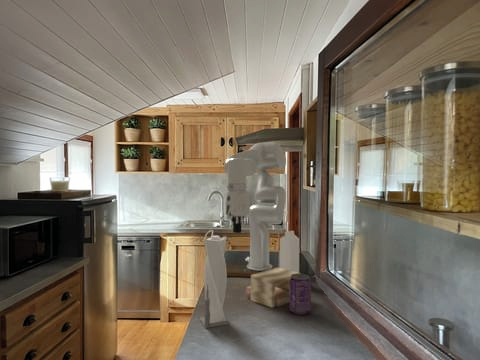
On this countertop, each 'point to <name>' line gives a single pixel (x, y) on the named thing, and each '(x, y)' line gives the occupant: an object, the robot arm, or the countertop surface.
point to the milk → (289, 252)
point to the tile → (277, 291)
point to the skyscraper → (214, 281)
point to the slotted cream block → (271, 287)
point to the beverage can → (300, 294)
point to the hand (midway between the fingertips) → (237, 232)
